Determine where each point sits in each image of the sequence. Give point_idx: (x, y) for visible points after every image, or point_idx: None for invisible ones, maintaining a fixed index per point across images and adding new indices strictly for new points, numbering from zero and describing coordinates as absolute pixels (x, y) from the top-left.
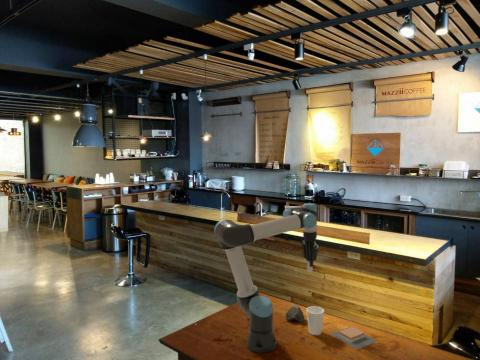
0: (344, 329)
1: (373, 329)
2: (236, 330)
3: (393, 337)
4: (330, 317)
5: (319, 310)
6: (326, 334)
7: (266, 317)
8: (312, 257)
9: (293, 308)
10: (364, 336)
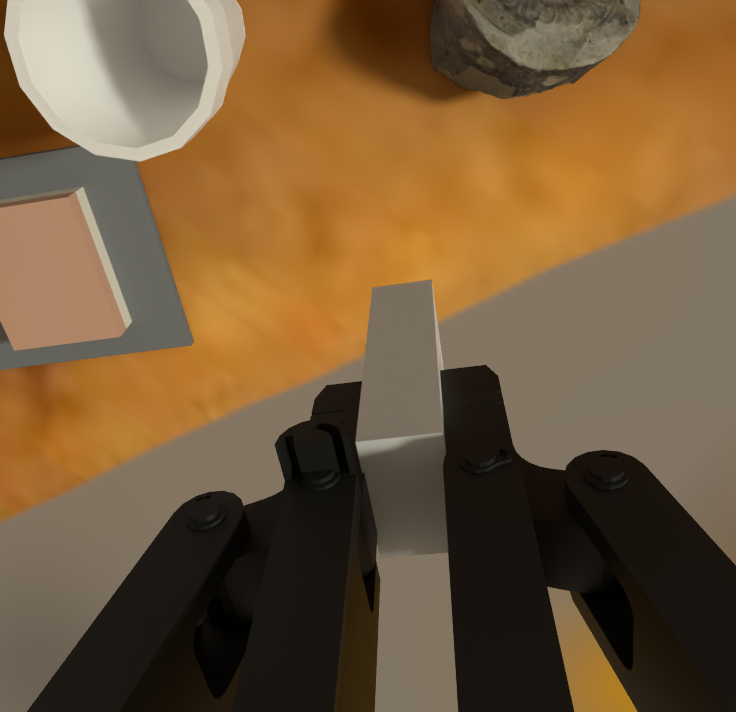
0: (166, 283)
1: (131, 451)
2: None
3: (11, 481)
4: None
5: (166, 131)
6: None
7: None
8: (157, 590)
9: (563, 6)
10: None
